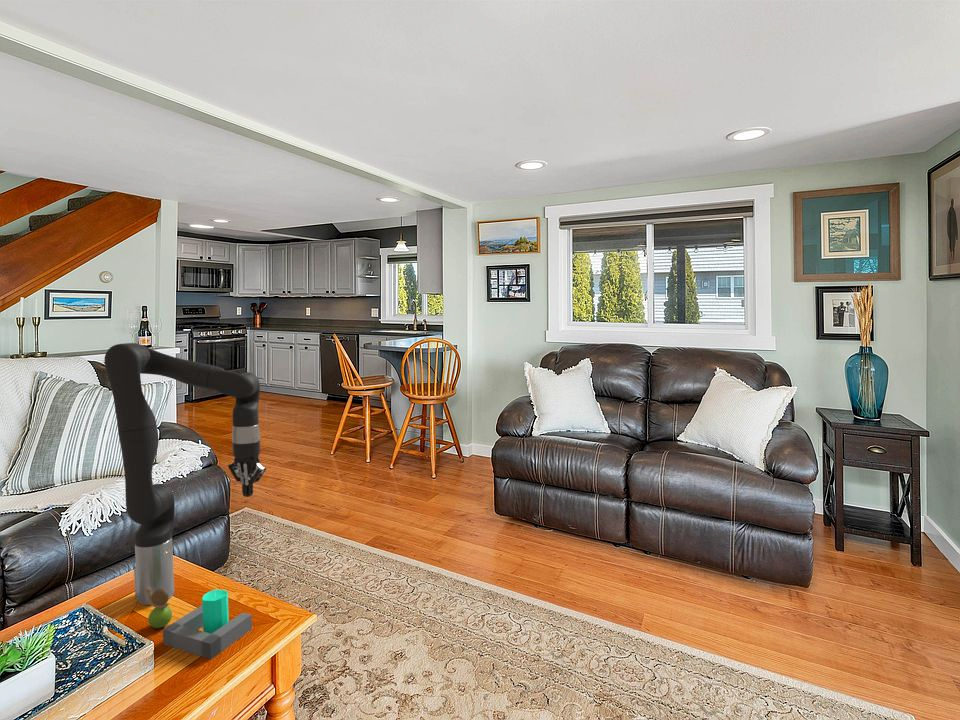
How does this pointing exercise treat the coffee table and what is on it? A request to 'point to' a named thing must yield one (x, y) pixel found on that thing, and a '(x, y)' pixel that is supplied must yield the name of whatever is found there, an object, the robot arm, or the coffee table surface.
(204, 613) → the candle
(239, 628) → the grey u-shaped frame
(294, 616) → the coffee table surface
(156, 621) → the snail figurine
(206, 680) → the coffee table surface
